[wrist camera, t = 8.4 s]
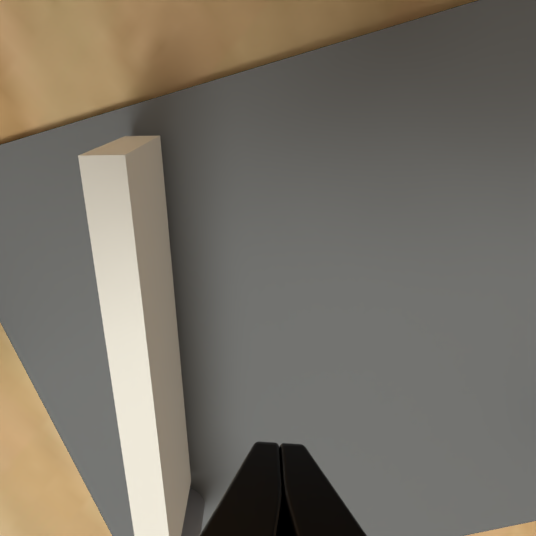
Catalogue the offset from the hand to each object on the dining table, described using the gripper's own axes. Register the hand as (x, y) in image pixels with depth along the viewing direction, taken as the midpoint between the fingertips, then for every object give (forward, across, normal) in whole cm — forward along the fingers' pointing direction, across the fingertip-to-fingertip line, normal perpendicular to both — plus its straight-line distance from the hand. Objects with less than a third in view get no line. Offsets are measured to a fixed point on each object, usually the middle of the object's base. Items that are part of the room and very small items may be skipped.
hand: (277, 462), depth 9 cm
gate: (+11, +4, +5) cm, 12 cm away
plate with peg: (+12, -2, +5) cm, 13 cm away
